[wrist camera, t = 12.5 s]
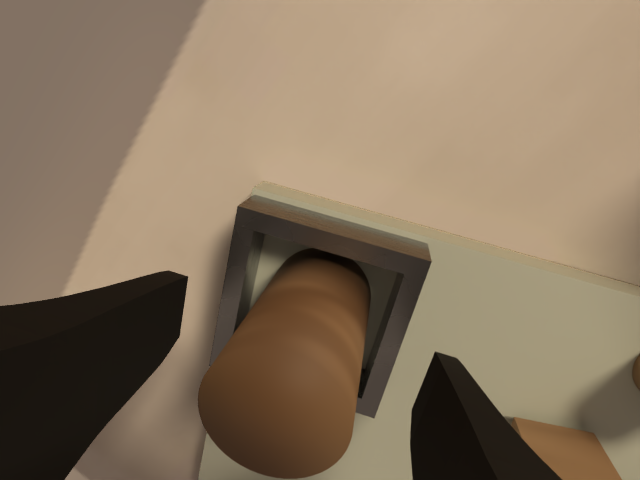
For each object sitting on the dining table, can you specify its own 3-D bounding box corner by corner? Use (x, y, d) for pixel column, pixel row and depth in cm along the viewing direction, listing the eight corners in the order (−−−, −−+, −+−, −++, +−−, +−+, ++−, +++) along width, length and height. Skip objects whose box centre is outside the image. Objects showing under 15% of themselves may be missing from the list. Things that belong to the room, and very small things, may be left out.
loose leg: (384, 265, 14) (374, 379, 8) (354, 349, 15) (328, 499, 9) (286, 234, 14) (211, 324, 9) (264, 319, 15) (187, 447, 10)
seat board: (731, 312, 14) (858, 392, 10) (535, 604, 19) (569, 728, 15) (263, 181, 15) (219, 208, 11) (202, 490, 20) (159, 579, 17)
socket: (427, 243, 13) (431, 261, 12) (376, 387, 15) (374, 418, 14) (254, 194, 14) (237, 206, 12) (226, 340, 16) (209, 365, 14)
